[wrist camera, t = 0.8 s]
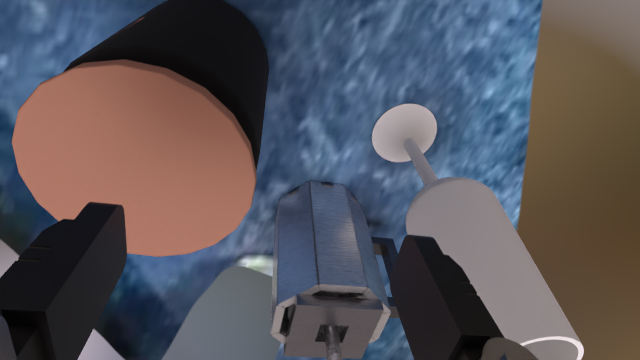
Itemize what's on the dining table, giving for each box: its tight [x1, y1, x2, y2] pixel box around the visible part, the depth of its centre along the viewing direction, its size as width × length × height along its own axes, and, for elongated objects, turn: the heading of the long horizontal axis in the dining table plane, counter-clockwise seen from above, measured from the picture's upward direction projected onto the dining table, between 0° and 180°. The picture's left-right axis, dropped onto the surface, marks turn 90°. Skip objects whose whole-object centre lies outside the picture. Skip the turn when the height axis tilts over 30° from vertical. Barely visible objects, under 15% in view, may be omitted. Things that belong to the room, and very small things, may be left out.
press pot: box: [271, 181, 400, 359], centre depth 37 cm, size 10×13×15 cm
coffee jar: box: [12, 0, 269, 257], centre depth 25 cm, size 11×11×18 cm
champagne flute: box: [372, 104, 584, 360], centre depth 28 cm, size 7×7×24 cm
